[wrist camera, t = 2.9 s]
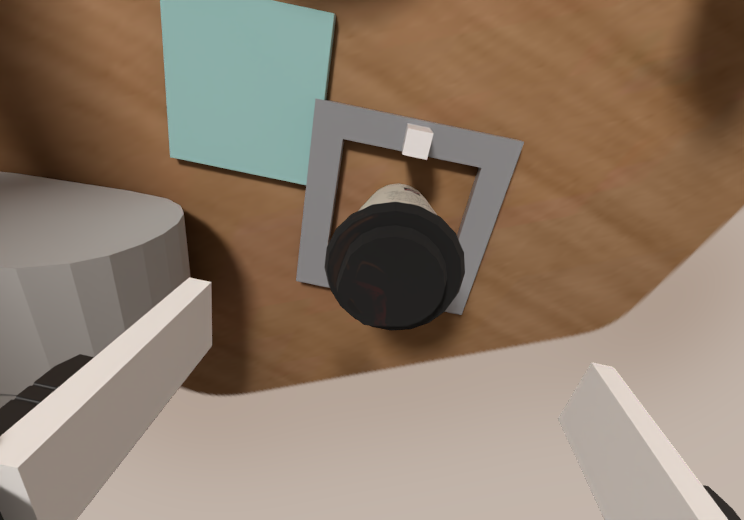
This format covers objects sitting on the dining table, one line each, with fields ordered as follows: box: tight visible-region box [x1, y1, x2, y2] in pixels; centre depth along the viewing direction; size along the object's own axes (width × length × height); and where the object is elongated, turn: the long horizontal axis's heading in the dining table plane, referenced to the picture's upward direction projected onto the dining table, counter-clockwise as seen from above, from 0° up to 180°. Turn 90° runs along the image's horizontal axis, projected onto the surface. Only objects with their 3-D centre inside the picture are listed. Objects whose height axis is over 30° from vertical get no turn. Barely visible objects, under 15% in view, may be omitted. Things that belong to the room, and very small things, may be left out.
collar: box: [296, 98, 524, 315], centre depth 23 cm, size 13×13×4 cm
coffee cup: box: [324, 184, 465, 330], centre depth 21 cm, size 7×7×10 cm
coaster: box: [160, 0, 336, 185], centre depth 22 cm, size 10×10×1 cm
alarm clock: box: [0, 172, 191, 408], centre depth 22 cm, size 21×10×13 cm, turn 83°
